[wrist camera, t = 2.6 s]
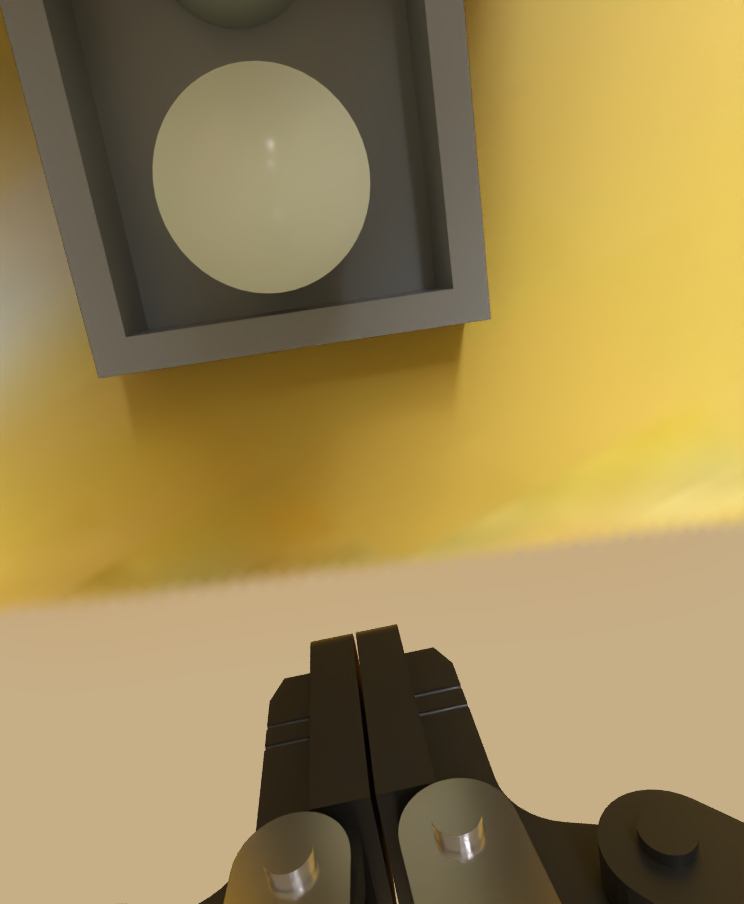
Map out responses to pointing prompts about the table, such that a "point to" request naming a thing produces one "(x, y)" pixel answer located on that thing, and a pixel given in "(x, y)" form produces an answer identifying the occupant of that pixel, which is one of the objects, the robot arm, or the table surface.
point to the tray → (132, 191)
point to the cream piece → (261, 177)
